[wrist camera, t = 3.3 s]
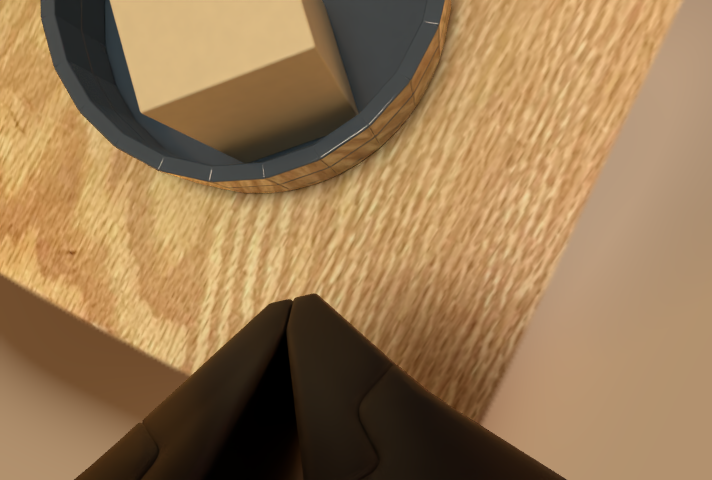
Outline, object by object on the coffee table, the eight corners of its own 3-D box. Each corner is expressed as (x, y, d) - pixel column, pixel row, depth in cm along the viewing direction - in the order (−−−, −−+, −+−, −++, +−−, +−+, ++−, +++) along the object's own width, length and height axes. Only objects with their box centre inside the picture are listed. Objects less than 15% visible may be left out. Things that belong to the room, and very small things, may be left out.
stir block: (361, 123, 20) (316, 46, 13) (245, 164, 21) (139, 113, 14) (325, 6, 21) (261, -132, 13) (212, 50, 22) (92, -58, 14)
